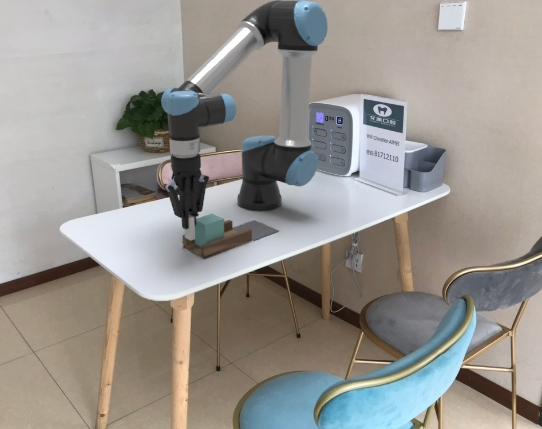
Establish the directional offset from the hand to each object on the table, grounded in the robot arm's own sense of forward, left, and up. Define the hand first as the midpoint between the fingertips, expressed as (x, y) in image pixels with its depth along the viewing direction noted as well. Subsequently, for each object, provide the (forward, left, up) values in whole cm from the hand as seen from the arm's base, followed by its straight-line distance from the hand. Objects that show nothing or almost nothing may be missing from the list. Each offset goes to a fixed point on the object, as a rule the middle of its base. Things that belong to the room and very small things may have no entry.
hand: (190, 238), depth 145 cm
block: (0, +7, -5) cm, 8 cm away
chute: (0, +10, -5) cm, 11 cm away
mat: (0, +24, -5) cm, 24 cm away
